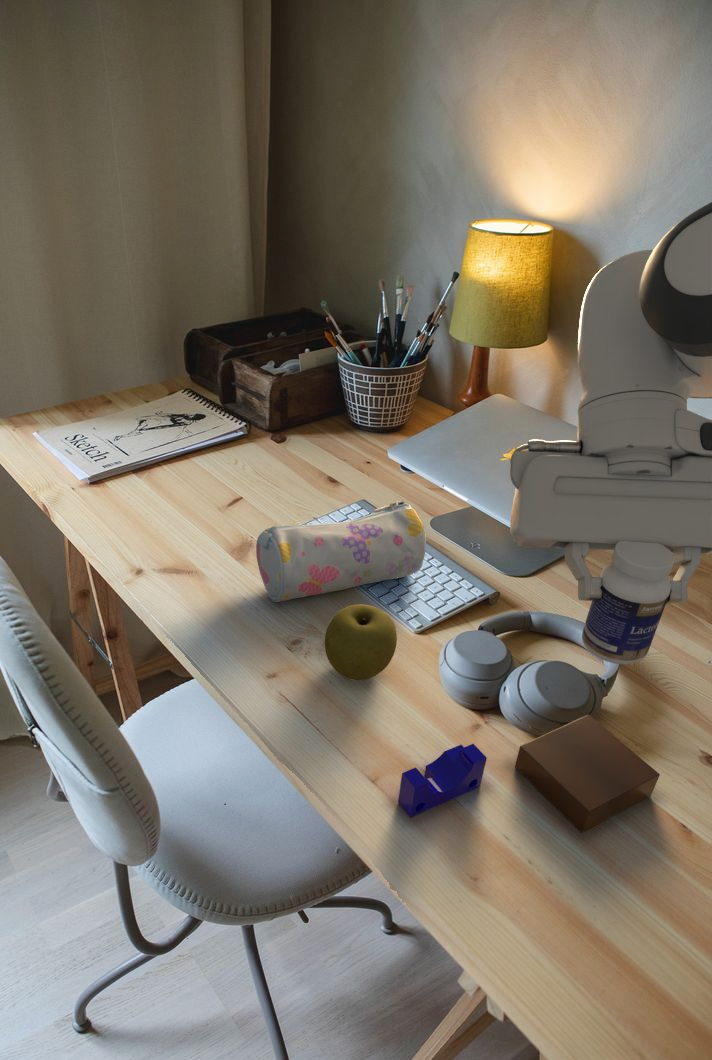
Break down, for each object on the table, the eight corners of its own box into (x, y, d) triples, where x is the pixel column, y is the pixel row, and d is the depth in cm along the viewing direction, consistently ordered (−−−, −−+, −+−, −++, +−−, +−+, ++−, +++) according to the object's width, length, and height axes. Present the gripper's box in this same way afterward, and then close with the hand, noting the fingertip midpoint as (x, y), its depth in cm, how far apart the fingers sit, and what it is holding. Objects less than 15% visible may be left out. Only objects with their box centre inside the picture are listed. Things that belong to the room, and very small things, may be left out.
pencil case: (396, 549, 111) (403, 486, 105) (429, 584, 105) (438, 519, 99) (250, 582, 104) (249, 517, 98) (276, 621, 98) (276, 554, 92)
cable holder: (457, 762, 80) (463, 733, 78) (480, 786, 78) (486, 757, 76) (389, 791, 77) (392, 761, 75) (410, 817, 75) (414, 788, 72)
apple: (407, 668, 91) (414, 617, 87) (359, 703, 87) (364, 651, 82) (356, 637, 96) (360, 587, 91) (308, 669, 91) (310, 617, 87)
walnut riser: (581, 735, 84) (588, 714, 82) (651, 795, 78) (660, 774, 76) (514, 767, 80) (519, 745, 78) (581, 833, 74) (589, 811, 72)
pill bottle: (629, 676, 70) (663, 580, 64) (568, 646, 73) (595, 552, 67) (658, 645, 73) (693, 551, 67) (598, 618, 76) (627, 525, 70)
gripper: (519, 425, 68) (518, 590, 66) (768, 435, 68) (774, 600, 66) (502, 451, 75) (500, 602, 73) (730, 459, 74) (734, 611, 72)
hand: (632, 601), depth 69 cm, fingers closed on pill bottle, 6 cm apart
